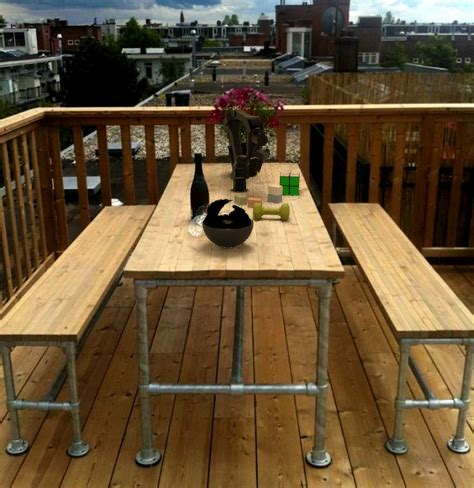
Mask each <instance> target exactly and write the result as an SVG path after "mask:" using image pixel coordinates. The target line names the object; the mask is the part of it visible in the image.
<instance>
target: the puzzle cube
mask: <svg viewBox="0 0 474 488" xmlns="http://www.w3.org/2000/svg"><path fill="white" fill-rule="evenodd" d="M300 174H301V173H300V172H299V171H296V172H295V171H281V172H280V173H279V185H280V186H283V189H282V196H295V195H296V196H297V195H298V196H300V180H301V179H300V177H301V176H300Z"/></svg>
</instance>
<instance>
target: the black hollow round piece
mask: <svg viewBox="0 0 474 488" xmlns="http://www.w3.org/2000/svg"><path fill="white" fill-rule="evenodd" d="M232 201H234V200H233V199H228V198H224V199H222V198H219V199H216V200H214V201H212V202H211V203H210V204H209V205H208V206H207V207H206V215H205V217H204V218H203V220H202V222H201V226H202V230H203V233H204V234H205V236H206V238H207V239H208V240H209V241H210V242H211V243H212V244H214V245H215V246H218V247H220V248H224V247H225V249H232V248H235V247H238V246H241V245H242V244H244V243H245V242H246V241H247V240H248V239H249V238H250V236H251V235H252V233H253V230H254V225H255V223H254V222H255V221H254V219H252V218H250V216H249V214H248V212H247V211H246V209H244V208H242V207H240V205H239V206H238V205H236V204H232V205H231V208H233V210H232V211H230V212H229V213H224V214H220V212H221V211H222V209H223V208H225V206H226V205H228V204H229V203H230V202H232ZM231 247H232V248H231Z"/></svg>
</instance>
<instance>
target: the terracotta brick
mask: <svg viewBox="0 0 474 488" xmlns="http://www.w3.org/2000/svg"><path fill="white" fill-rule="evenodd" d="M254 203H260V204H261V205H262V206H263V198H261V197H248V198H247V208H251V209H253V205H254Z"/></svg>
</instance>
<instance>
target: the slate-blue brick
mask: <svg viewBox="0 0 474 488" xmlns="http://www.w3.org/2000/svg"><path fill="white" fill-rule="evenodd" d="M267 202H268V203H275V204H280V203H282V202H283V195H282V194H281V195H278V196H277V195H272V194H268V193H267Z"/></svg>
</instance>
